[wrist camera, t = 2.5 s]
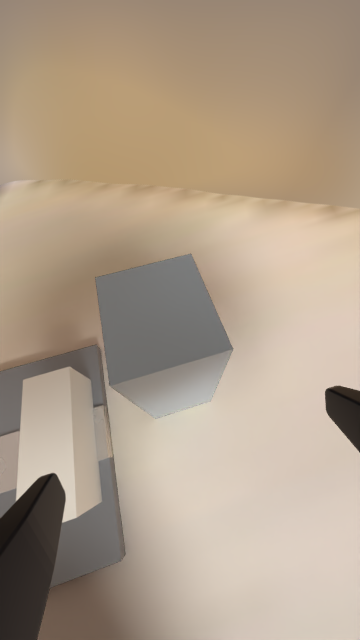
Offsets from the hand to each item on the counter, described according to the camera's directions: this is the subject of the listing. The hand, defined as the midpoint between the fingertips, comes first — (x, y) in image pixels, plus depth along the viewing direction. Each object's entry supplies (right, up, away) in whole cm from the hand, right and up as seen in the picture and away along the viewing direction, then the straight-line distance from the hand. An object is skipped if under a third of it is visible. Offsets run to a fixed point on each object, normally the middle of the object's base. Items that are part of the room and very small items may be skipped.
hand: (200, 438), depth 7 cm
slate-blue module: (-1, -1, +11) cm, 12 cm away
